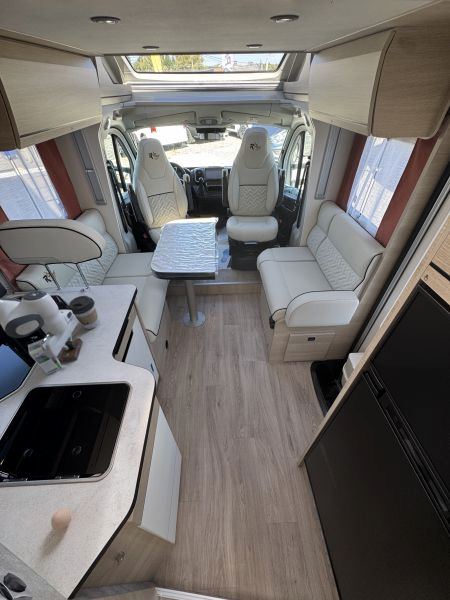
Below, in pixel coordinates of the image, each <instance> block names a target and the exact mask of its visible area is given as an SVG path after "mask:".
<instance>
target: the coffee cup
mask: <svg viewBox="0 0 450 600" xmlns="http://www.w3.org/2000/svg"><path fill="white" fill-rule="evenodd" d="M95 305H96V303H95V301H94V299H93V297H90V296H88V295H79V296H76V297H75V298H73V299H71V301H70V302H69V303H68V307H67V308H68V309H67V310H72V312H73V314H74V315H75V317H76V318H77V320H78V322H79V324H81V326H83V328H85V329H86V330H93V329H95V328H97V327H98V326H99V324H100V319H99V315H98V311H97V309H96V306H95Z"/></svg>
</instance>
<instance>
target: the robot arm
mask: <svg viewBox="0 0 450 600" xmlns="http://www.w3.org/2000/svg"><path fill="white" fill-rule="evenodd" d="M78 322H79V321H78V320H77V318H76V317H75V315H74V314H73V312H72V310H68V309H59V306H58V304H57V303H56V302H55V300H54V299H53V297H52V296H51V295H50V294H49V293H48V292H46V291H44V290H32V291H28V292H27V293H24V295H23V296H22V298H21V299H19V298H13V297H6V298H3V297H2V298H1V297H0V326H1V327H2V329H3V331H4V332H5V334H6V335H7V336H8V337H10V338H14V339H22V338H25V337H26V338H27V337H28V336H30V335H32V334H34V333H35V332H37V331H38V330H39V329H41V330H42V332H43V333H44V334H45V336H44V338H42V339H43V340H42V339H41V340H42V344H41V347H42V349H43V351H44V353H45V355H46V356H47V357H58V356H59V354H60V352H62V350H63V349H64V350H68V349H69V345H66V344H65V343H66V341H72V339H73V338H72V334H73V332H74V330H75V328H76V327H77V325H78ZM62 348H63V349H62Z"/></svg>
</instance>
